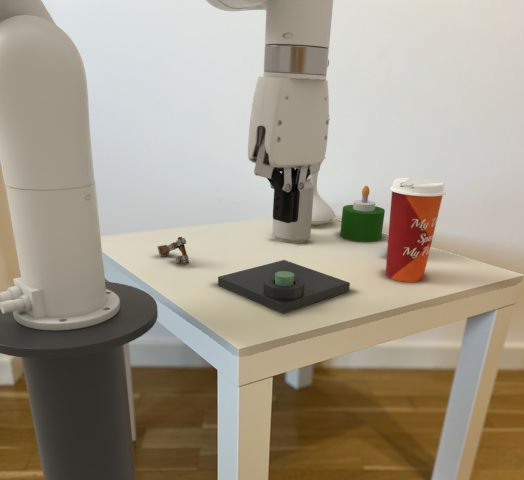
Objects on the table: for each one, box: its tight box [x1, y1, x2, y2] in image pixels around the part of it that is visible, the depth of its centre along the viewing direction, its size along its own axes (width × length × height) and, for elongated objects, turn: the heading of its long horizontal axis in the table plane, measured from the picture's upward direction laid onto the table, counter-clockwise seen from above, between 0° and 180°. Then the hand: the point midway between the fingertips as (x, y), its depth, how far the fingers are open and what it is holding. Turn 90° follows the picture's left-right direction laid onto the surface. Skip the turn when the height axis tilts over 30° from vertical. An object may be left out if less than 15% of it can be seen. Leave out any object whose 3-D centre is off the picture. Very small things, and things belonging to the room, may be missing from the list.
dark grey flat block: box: [217, 259, 351, 314], centre depth 82 cm, size 14×14×3 cm
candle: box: [339, 185, 386, 243], centre depth 109 cm, size 8×8×10 cm
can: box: [272, 176, 314, 244], centre depth 105 cm, size 8×8×12 cm
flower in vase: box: [309, 118, 336, 226], centre depth 115 cm, size 13×11×25 cm
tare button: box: [275, 271, 294, 286], centre depth 76 cm, size 3×3×2 cm
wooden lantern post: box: [156, 236, 190, 265], centre depth 92 cm, size 2×8×4 cm, turn 39°
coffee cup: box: [385, 177, 446, 283], centre depth 86 cm, size 8×8×15 cm
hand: (285, 220), depth 73 cm, fingers closed
